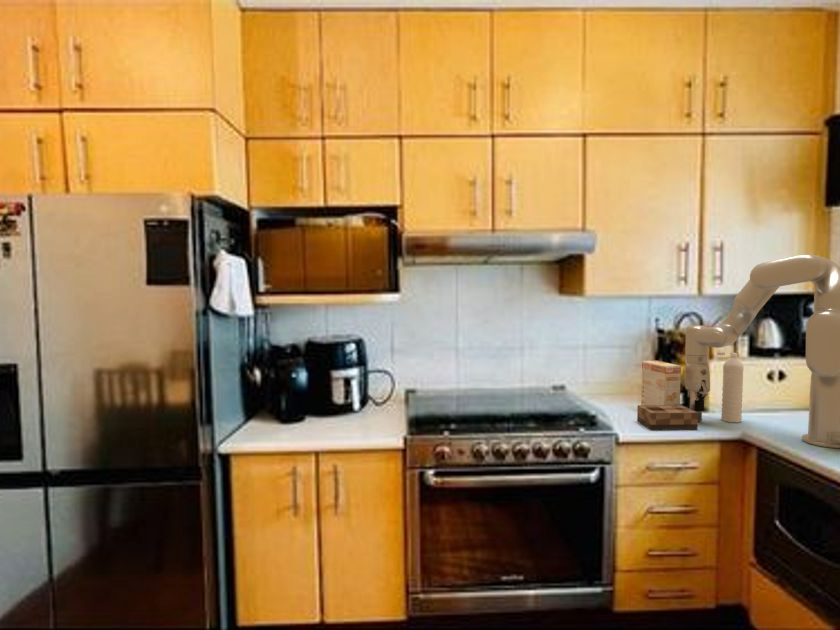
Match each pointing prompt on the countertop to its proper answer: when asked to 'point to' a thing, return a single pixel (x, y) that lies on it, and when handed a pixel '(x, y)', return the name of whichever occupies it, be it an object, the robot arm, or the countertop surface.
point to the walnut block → (667, 417)
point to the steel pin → (692, 403)
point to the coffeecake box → (660, 383)
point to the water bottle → (732, 388)
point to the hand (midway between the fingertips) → (695, 409)
